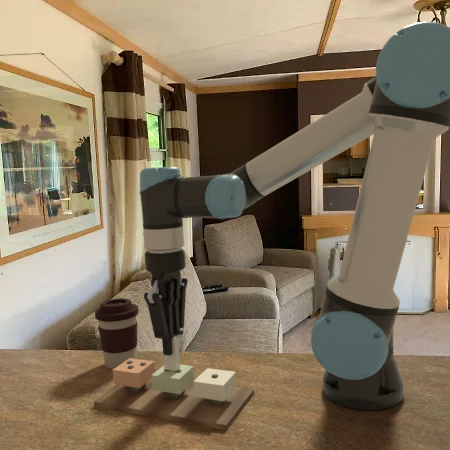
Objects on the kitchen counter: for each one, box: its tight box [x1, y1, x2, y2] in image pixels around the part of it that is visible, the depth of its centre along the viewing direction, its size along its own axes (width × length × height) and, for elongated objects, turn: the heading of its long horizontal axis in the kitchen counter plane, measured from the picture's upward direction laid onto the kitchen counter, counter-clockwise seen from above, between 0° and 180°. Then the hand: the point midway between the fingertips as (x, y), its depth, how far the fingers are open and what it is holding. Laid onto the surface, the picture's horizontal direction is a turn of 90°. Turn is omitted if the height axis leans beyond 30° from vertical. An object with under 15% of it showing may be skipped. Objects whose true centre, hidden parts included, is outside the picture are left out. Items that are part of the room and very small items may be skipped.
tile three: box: [112, 358, 156, 388], centre depth 98 cm, size 6×6×3 cm
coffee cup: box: [94, 297, 140, 370], centre depth 113 cm, size 10×10×15 cm
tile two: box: [152, 364, 195, 394], centre depth 94 cm, size 6×6×3 cm
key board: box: [93, 378, 255, 431], centre depth 95 cm, size 28×14×2 cm, turn 67°
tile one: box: [194, 367, 237, 401], centre depth 91 cm, size 6×6×3 cm
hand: (172, 368), depth 94 cm, fingers closed
